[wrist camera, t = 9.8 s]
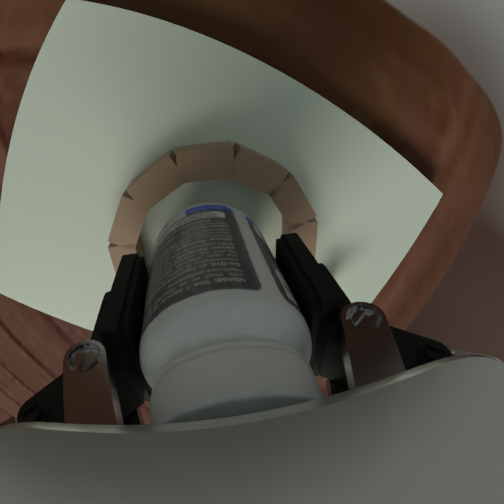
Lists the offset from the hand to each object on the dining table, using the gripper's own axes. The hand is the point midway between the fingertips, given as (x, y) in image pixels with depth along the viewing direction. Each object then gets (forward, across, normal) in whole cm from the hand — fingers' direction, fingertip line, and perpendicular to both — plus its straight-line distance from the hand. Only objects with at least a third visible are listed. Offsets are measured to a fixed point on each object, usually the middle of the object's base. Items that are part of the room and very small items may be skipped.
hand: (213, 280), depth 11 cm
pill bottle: (+2, 0, 0) cm, 2 cm away
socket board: (+4, 0, 0) cm, 4 cm away
